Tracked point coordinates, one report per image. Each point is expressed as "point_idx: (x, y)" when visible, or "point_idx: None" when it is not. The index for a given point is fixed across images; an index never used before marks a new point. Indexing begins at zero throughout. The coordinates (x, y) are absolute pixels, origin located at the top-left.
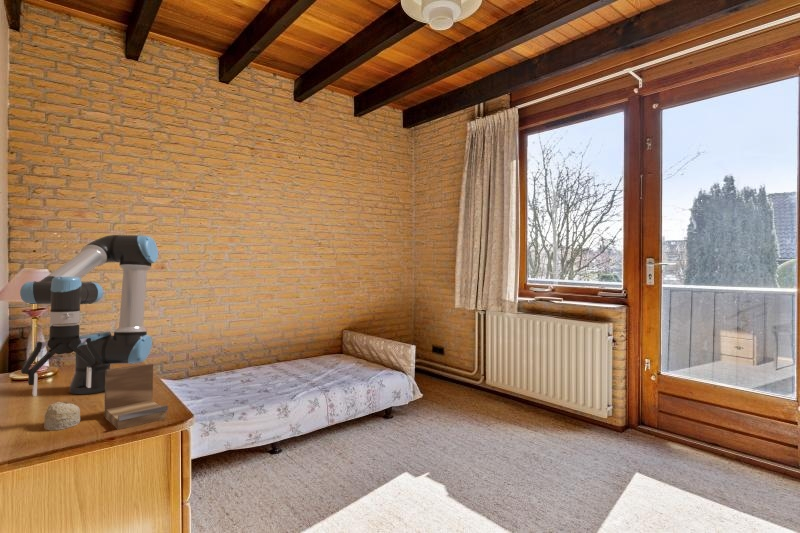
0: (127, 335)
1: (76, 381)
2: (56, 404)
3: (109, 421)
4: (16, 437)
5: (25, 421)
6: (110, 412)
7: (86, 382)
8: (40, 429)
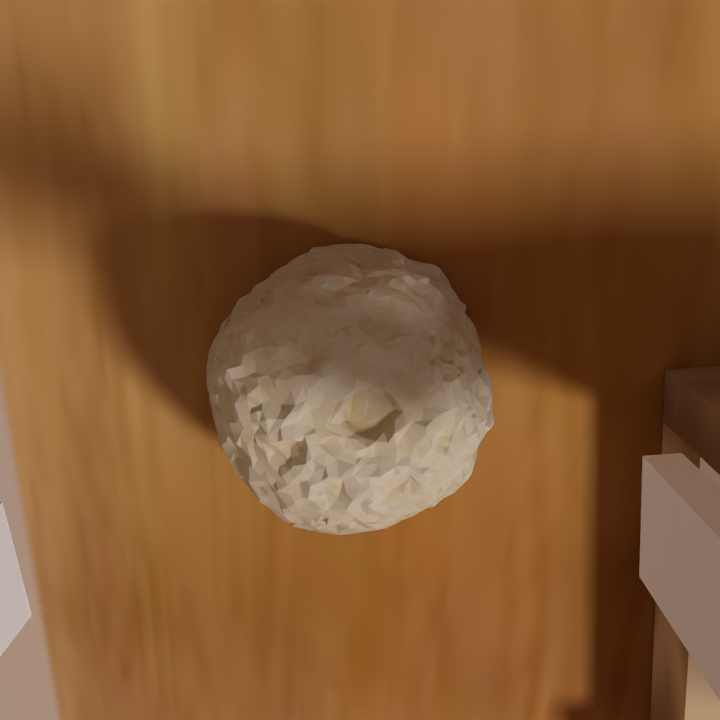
0: None
1: None
2: (281, 443)
3: None
4: (69, 461)
5: (78, 21)
6: None
7: (672, 494)
8: None
